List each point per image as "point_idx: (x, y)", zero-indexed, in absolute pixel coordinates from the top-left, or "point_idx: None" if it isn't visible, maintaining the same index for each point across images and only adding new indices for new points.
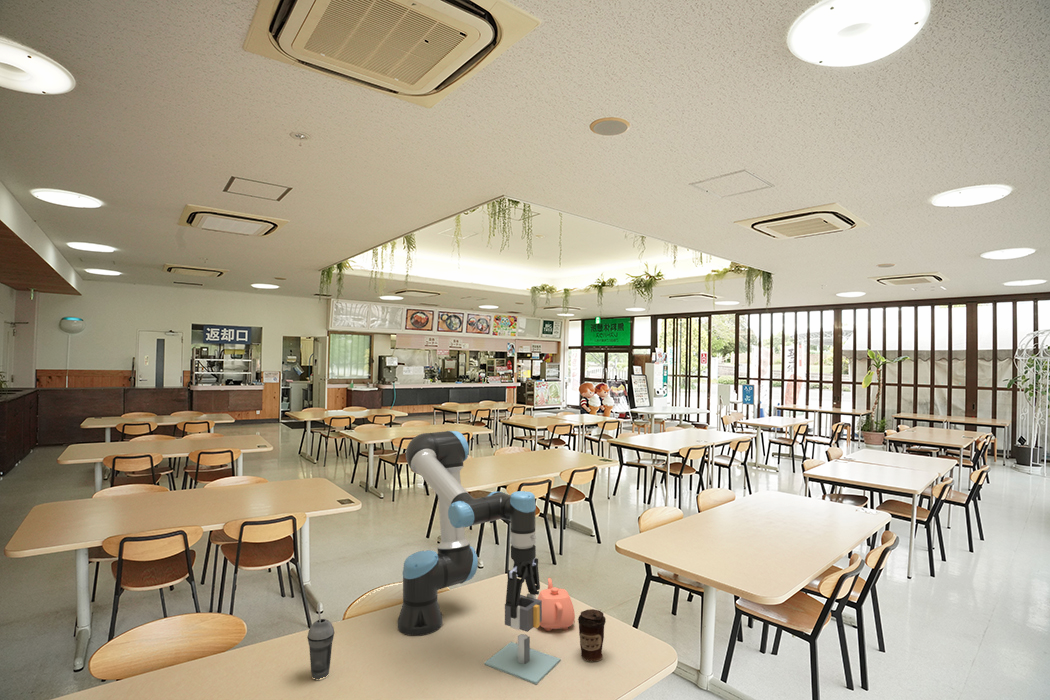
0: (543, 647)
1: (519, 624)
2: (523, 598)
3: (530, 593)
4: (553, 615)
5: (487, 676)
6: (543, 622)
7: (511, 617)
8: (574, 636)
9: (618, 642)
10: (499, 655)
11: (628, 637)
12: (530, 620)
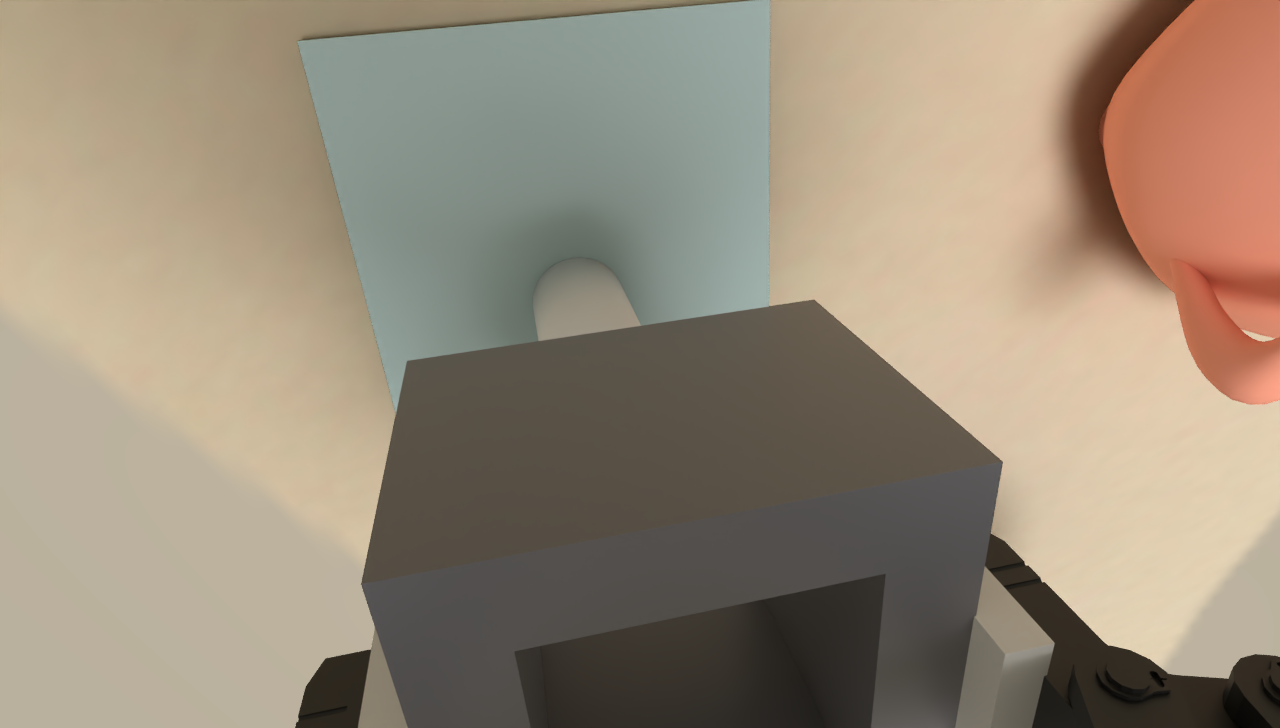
0: (854, 275)
1: None
2: (875, 616)
3: (1045, 699)
4: (1209, 250)
5: (197, 202)
6: (1128, 148)
7: (327, 671)
8: (1091, 350)
9: (1112, 568)
10: (500, 77)
11: (1183, 573)
12: None
